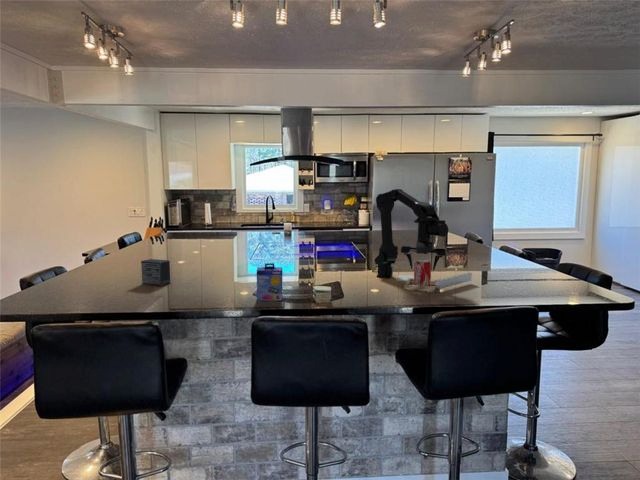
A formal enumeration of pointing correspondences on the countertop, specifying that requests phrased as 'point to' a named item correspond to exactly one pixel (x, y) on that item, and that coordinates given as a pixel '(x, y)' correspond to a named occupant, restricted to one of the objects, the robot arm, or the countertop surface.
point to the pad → (404, 277)
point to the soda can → (422, 272)
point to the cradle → (420, 288)
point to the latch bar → (453, 280)
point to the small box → (155, 272)
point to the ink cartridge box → (269, 283)
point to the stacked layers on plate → (322, 294)
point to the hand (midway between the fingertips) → (422, 269)
